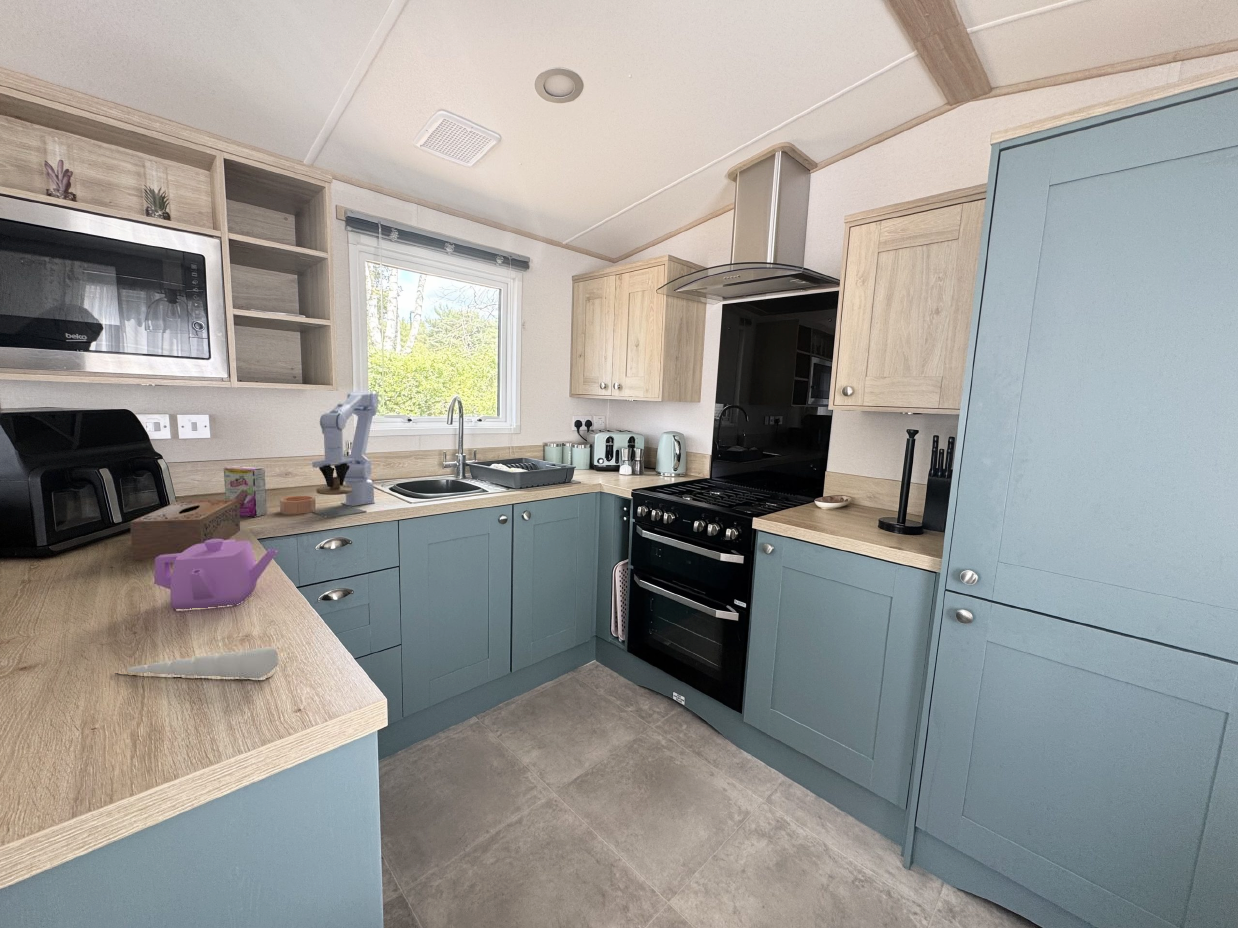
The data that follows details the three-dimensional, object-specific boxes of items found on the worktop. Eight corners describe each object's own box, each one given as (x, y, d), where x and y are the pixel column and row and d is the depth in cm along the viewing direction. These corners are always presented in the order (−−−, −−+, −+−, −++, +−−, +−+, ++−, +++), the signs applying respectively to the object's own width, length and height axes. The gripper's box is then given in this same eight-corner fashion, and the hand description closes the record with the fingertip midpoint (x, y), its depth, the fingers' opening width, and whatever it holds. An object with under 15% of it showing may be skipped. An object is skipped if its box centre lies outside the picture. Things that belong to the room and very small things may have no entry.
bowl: (307, 506, 191) (306, 494, 191) (319, 511, 185) (319, 498, 185) (276, 511, 183) (276, 498, 183) (288, 515, 177) (287, 502, 177)
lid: (337, 486, 191) (337, 473, 190) (359, 491, 186) (359, 477, 186) (308, 491, 180) (308, 477, 180) (331, 496, 176) (331, 481, 175)
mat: (348, 506, 194) (348, 505, 194) (366, 512, 186) (366, 511, 186) (311, 512, 184) (311, 510, 184) (328, 518, 176) (328, 517, 176)
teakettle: (234, 578, 120) (230, 526, 118) (284, 590, 113) (281, 535, 112) (144, 604, 104) (138, 544, 102) (197, 621, 98) (192, 557, 96)
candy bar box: (225, 515, 174) (222, 467, 172) (237, 512, 179) (234, 465, 177) (256, 517, 173) (253, 469, 171) (267, 514, 178) (265, 467, 176)
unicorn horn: (136, 662, 83) (133, 634, 82) (282, 670, 82) (281, 641, 82) (106, 679, 78) (103, 649, 78) (261, 687, 78) (259, 657, 77)
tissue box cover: (182, 533, 153) (180, 500, 152) (240, 531, 158) (238, 499, 156) (133, 560, 129) (129, 521, 128) (203, 557, 134) (200, 519, 132)
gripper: (345, 445, 189) (346, 482, 191) (306, 448, 177) (307, 487, 178) (358, 446, 186) (359, 484, 188) (319, 449, 173) (320, 489, 175)
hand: (335, 485), depth 183 cm, fingers closed on lid, 3 cm apart
